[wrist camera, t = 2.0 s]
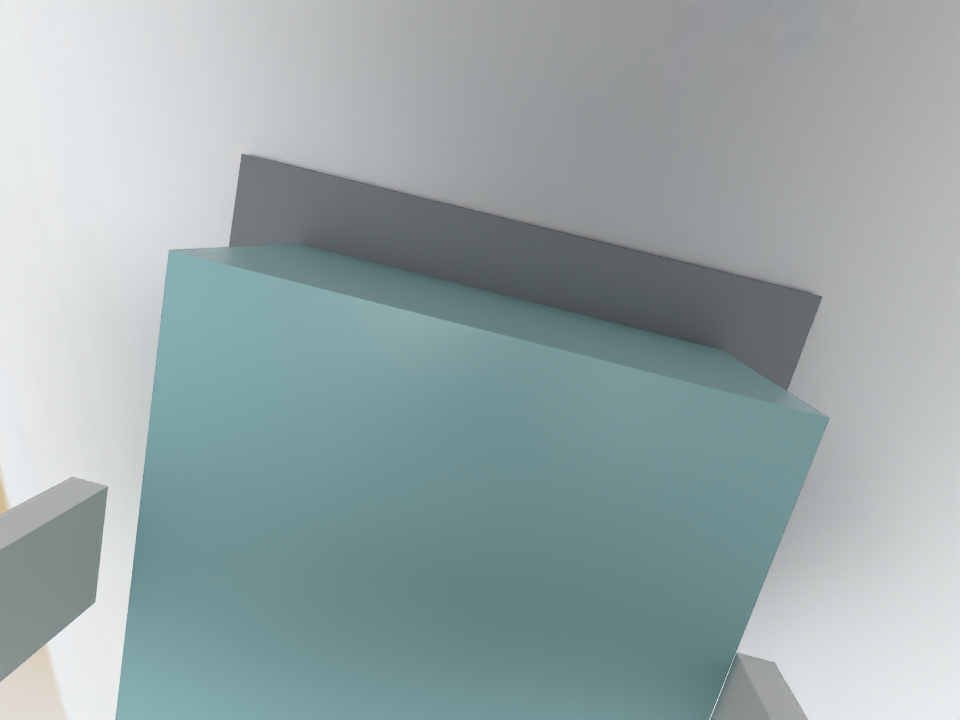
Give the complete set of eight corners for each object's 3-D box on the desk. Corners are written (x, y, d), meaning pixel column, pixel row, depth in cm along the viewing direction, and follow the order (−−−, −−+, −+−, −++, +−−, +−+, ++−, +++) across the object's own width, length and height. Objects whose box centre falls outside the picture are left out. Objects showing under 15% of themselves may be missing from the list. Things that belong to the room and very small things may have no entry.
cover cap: (722, 350, 16) (829, 418, 10) (598, 708, 19) (626, 924, 13) (299, 243, 16) (169, 250, 11) (239, 608, 19) (109, 772, 13)
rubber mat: (815, 294, 16) (822, 296, 15) (639, 764, 19) (641, 775, 19) (248, 155, 16) (241, 153, 16) (181, 635, 20) (174, 642, 20)
